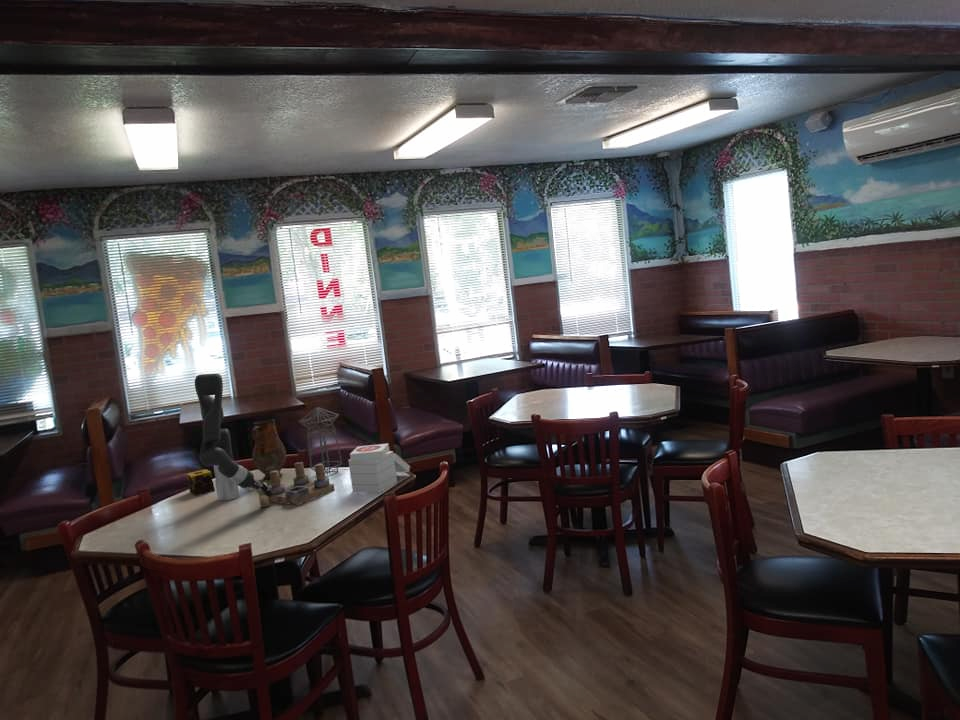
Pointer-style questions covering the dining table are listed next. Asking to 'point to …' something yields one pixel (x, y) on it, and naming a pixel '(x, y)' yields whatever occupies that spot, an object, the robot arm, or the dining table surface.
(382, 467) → the pizza box stack
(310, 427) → the geometric lantern
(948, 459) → the dining table surface
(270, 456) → the pitcher
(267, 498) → the loose leg
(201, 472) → the yellow and brown cube
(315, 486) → the stool
